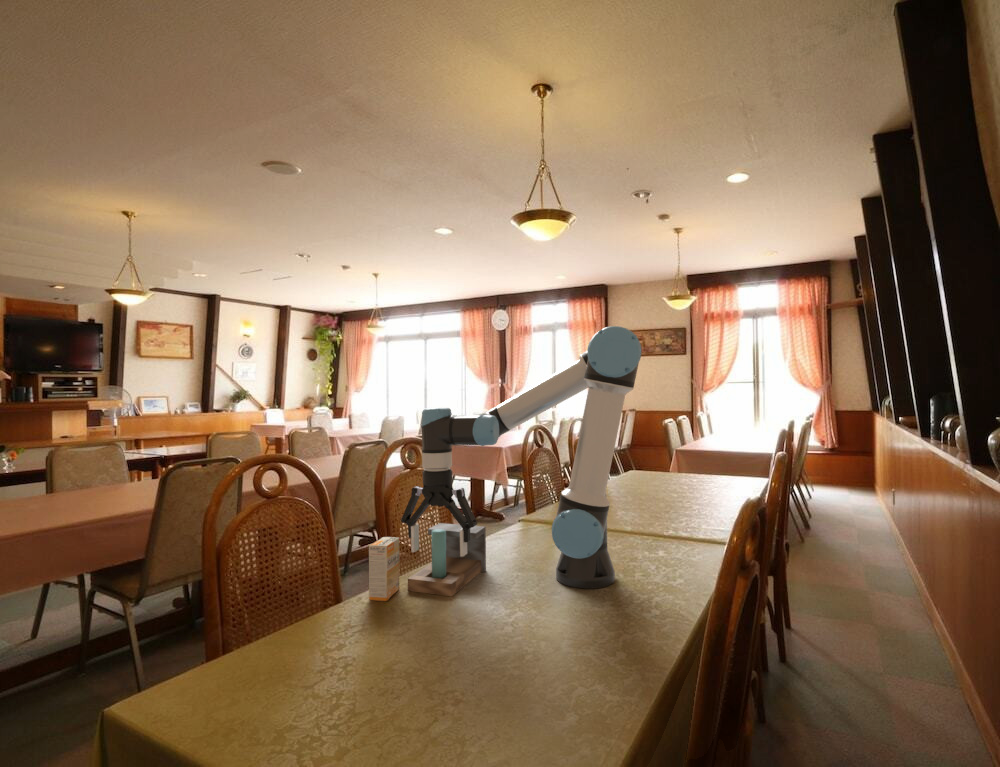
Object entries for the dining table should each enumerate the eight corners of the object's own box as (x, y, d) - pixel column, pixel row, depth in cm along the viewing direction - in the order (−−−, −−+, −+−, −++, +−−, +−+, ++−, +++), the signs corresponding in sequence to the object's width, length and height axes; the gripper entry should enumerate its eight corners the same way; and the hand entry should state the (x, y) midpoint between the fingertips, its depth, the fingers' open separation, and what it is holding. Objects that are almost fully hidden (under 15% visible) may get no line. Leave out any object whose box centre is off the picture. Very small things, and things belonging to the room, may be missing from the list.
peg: (448, 585, 139) (448, 529, 139) (442, 589, 136) (442, 533, 136) (436, 583, 140) (435, 528, 141) (429, 588, 137) (429, 532, 137)
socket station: (486, 570, 150) (485, 526, 150) (455, 596, 131) (455, 546, 131) (440, 565, 155) (439, 523, 155) (404, 590, 136) (403, 541, 136)
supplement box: (387, 601, 129) (387, 546, 129) (368, 600, 130) (367, 545, 130) (400, 589, 137) (400, 536, 137) (382, 588, 138) (382, 535, 138)
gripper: (488, 467, 138) (490, 552, 137) (401, 465, 146) (403, 545, 146) (477, 472, 131) (479, 561, 130) (386, 469, 139) (388, 553, 139)
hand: (439, 553), depth 138 cm, fingers open, 13 cm apart
